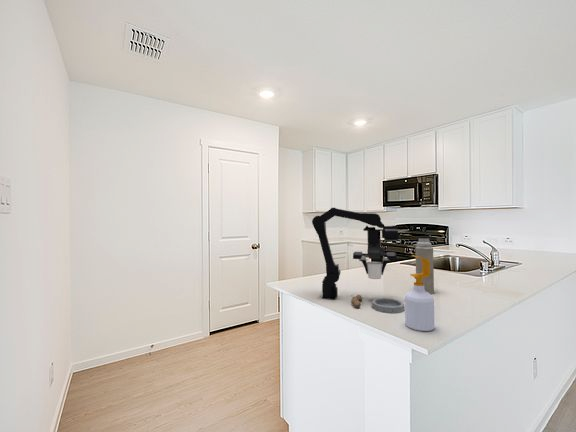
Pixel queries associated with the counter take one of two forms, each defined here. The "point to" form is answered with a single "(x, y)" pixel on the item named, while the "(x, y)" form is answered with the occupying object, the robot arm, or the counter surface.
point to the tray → (388, 305)
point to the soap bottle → (420, 302)
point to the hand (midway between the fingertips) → (374, 274)
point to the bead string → (356, 301)
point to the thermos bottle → (426, 252)
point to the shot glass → (374, 270)
